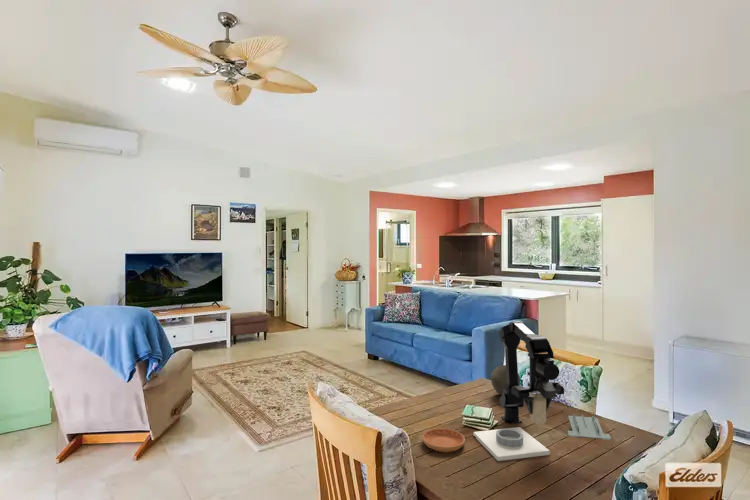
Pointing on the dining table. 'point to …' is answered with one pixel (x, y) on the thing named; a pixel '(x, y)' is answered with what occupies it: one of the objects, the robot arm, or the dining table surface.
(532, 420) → the candle
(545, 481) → the dining table surface
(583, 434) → the metal bracket
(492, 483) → the dining table surface
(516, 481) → the dining table surface
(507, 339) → the robot arm
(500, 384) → the dark olive sphere
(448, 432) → the saucer
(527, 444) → the collar plate
